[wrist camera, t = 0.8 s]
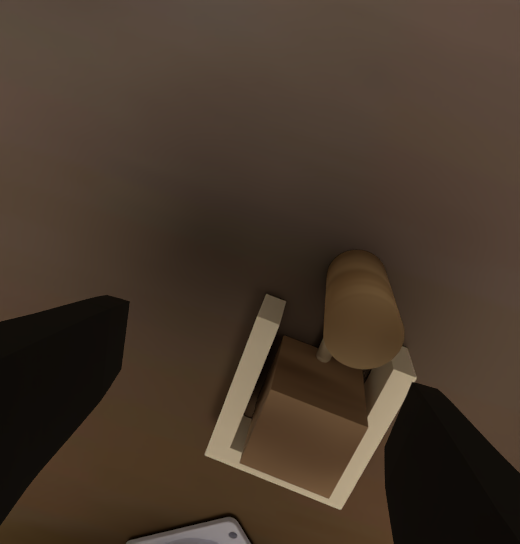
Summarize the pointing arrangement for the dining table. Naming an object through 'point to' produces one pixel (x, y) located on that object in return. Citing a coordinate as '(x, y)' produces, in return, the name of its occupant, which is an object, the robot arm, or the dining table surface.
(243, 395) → the small tray
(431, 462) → the robot arm
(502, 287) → the dining table surface
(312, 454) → the tan rounded-end part
